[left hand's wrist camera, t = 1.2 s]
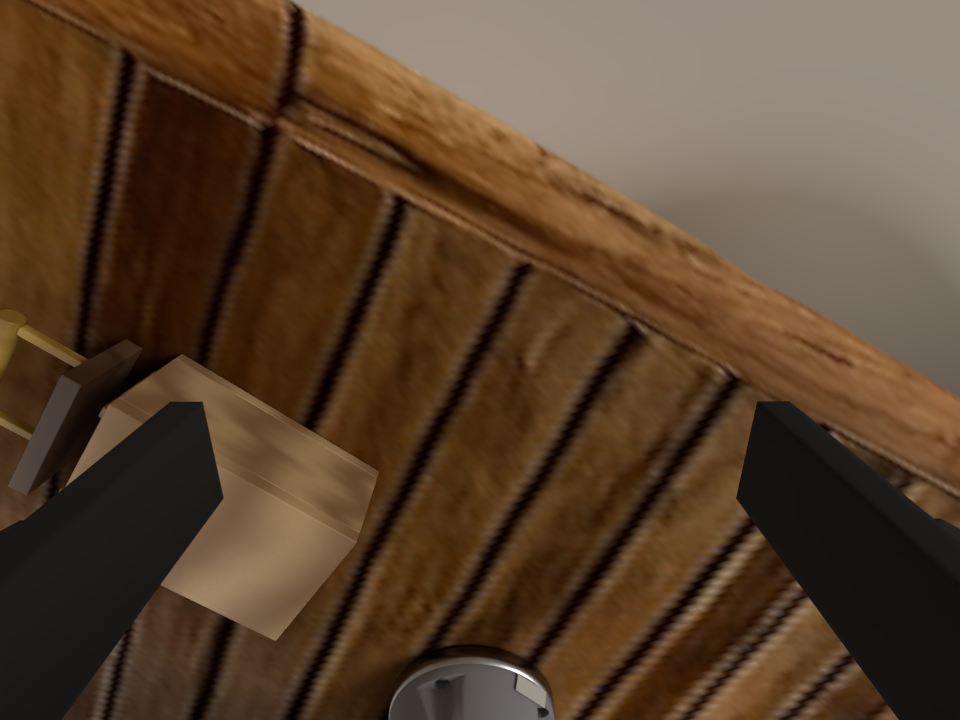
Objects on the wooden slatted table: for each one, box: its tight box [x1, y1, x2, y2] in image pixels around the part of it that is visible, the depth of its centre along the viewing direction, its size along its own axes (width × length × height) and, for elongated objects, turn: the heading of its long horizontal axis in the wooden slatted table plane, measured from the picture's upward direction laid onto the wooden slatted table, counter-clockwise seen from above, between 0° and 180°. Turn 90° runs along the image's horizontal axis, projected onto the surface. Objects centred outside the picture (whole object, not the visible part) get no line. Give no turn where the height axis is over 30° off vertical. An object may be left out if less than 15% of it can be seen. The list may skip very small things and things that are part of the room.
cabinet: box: [65, 354, 379, 641], centre depth 36 cm, size 16×11×8 cm, turn 53°
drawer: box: [0, 309, 155, 496], centre depth 35 cm, size 21×10×6 cm, turn 53°
